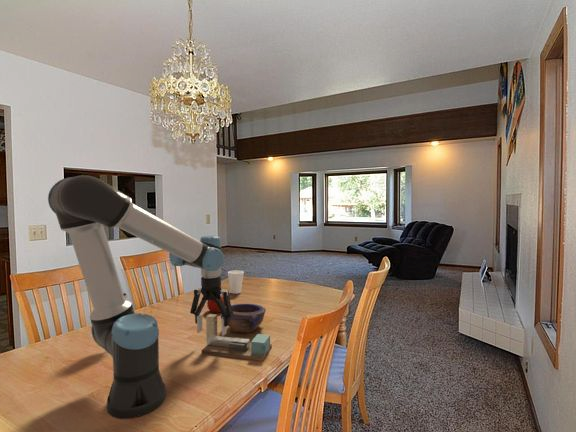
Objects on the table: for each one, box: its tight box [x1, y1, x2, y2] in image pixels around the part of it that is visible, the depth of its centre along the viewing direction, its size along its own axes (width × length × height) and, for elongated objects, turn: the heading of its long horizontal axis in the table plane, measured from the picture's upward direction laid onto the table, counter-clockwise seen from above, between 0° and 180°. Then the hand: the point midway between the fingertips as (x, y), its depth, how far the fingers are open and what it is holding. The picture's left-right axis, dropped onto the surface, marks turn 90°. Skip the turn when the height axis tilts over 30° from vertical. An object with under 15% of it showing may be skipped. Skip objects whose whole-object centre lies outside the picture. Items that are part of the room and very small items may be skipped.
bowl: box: [220, 303, 266, 334], centre depth 142 cm, size 18×18×10 cm
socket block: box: [250, 333, 271, 355], centre depth 120 cm, size 7×5×4 cm
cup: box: [227, 269, 245, 295], centre depth 199 cm, size 10×10×13 cm
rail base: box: [201, 336, 273, 362], centre depth 122 cm, size 11×24×4 cm, turn 76°
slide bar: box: [205, 313, 251, 350], centre depth 123 cm, size 3×17×11 cm, turn 76°
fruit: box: [206, 294, 225, 314], centre depth 166 cm, size 10×10×10 cm
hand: (211, 332), depth 124 cm, fingers open, 10 cm apart
